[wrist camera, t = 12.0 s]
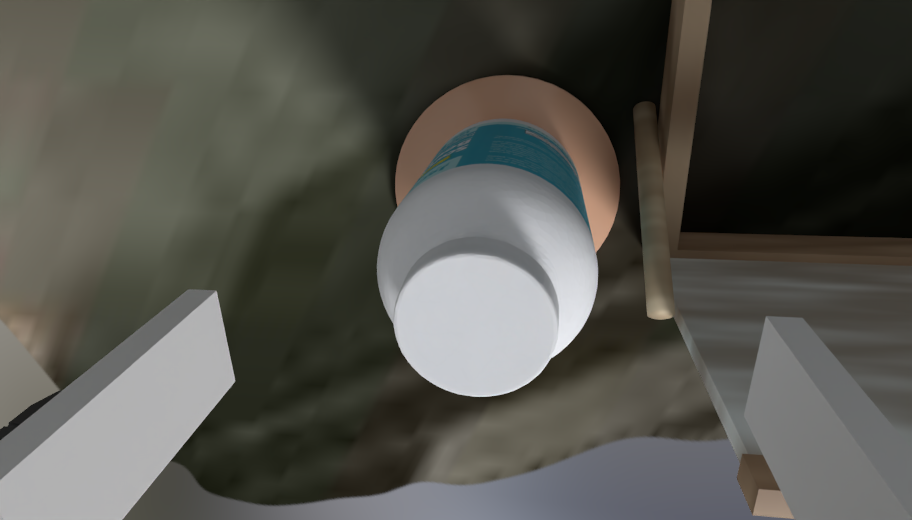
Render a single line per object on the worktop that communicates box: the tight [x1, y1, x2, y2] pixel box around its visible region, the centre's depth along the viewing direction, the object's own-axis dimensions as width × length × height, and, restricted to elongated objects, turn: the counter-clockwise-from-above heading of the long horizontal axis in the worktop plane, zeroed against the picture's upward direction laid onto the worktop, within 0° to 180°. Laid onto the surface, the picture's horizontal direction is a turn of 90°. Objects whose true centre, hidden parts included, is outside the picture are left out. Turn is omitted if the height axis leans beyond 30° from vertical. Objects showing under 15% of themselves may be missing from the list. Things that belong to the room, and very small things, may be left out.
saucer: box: [395, 75, 620, 252], centre depth 29 cm, size 11×11×1 cm
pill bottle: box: [377, 119, 598, 397], centre depth 22 cm, size 8×7×14 cm
